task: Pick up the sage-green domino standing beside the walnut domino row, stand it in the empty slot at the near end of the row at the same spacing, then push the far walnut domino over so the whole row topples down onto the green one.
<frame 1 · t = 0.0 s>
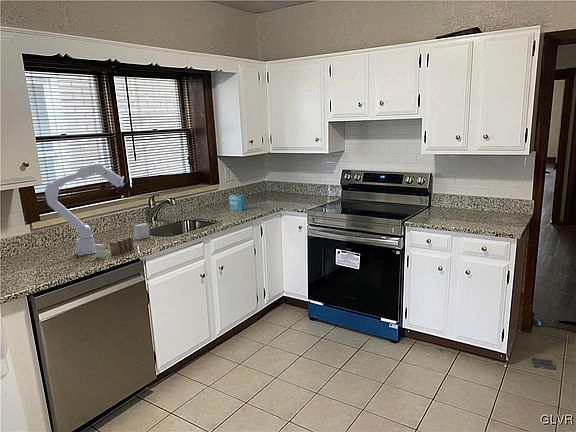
hand: (133, 191, 252), 32 cm above the worktop, tool tilted 50°, fingers open, 7 cm apart
head tile: (129, 248, 251), on the worktop
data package: (237, 209, 353), on the worktop
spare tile: (100, 257, 237), on the worktop
tile 3: (120, 252, 245), on the worktop
tile 4: (115, 254, 241), on the worktop
medicine box: (142, 238, 274), on the worktop
tile 2: (125, 250, 248), on the worktop
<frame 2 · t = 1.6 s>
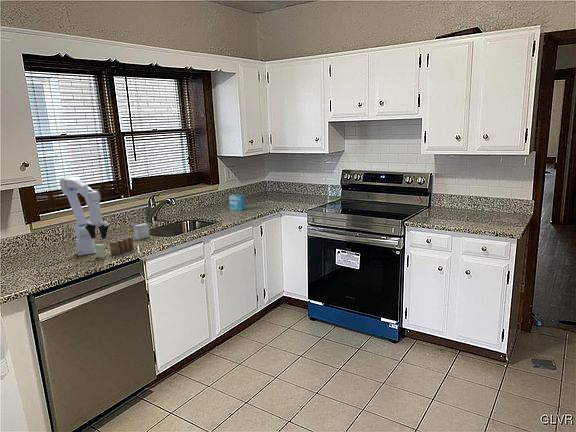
hand: (98, 238, 234), 10 cm above the worktop, tool pointing down, fingers open, 7 cm apart
nothing on the worktop moved.
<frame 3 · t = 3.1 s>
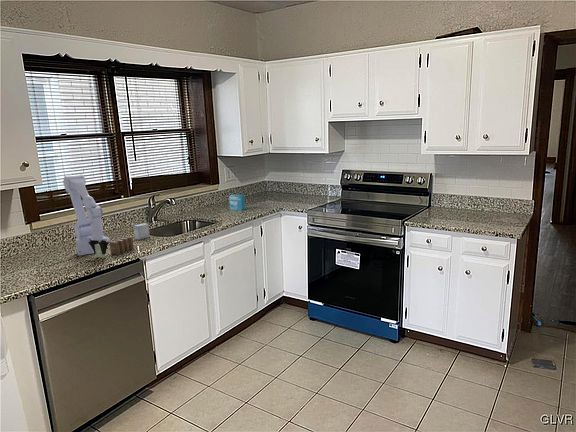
hand: (100, 253, 236), 2 cm above the worktop, tool pointing down, fingers closed on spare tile, 5 cm apart
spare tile: (100, 256, 237), on the worktop, touching gripper
everything else where it was.
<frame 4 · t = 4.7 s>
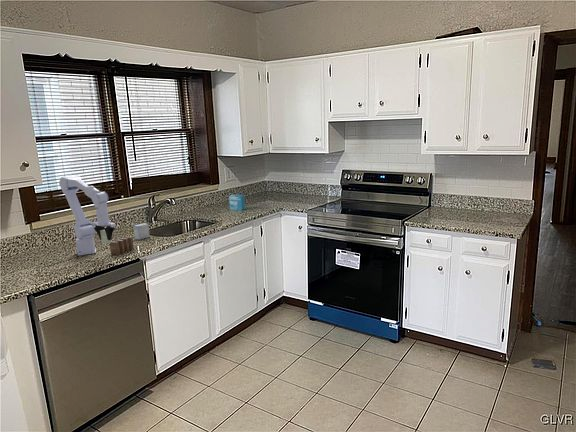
hand: (105, 239, 236), 9 cm above the worktop, tool pointing down, fingers closed on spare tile, 5 cm apart
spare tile: (106, 242, 236), point 8 cm above the worktop, touching gripper
everything else where it was.
when the fingers open (3 cm above the worktop, at t = 6.6 s): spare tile stays where it is, on the worktop.
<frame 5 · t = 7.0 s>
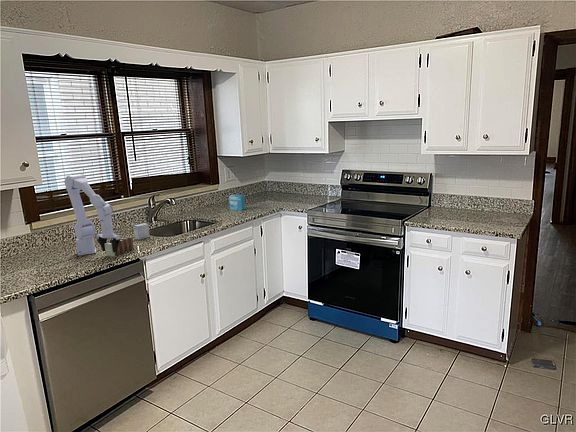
hand: (110, 251, 238), 3 cm above the worktop, tool pointing down, fingers open, 7 cm apart
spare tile: (110, 255, 238), on the worktop
everything else where it was.
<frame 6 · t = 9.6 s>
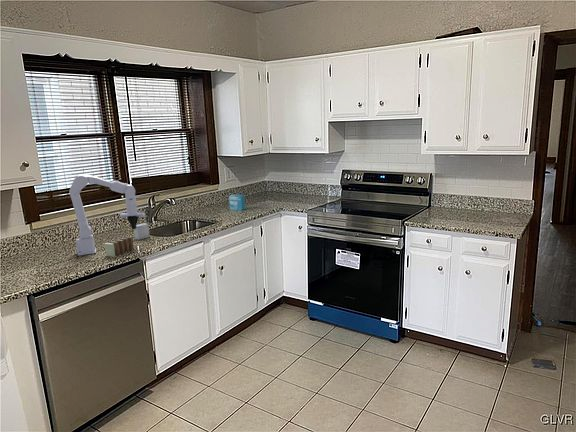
hand: (134, 228, 254), 10 cm above the worktop, tool pointing down, fingers closed
nothing on the worktop moved.
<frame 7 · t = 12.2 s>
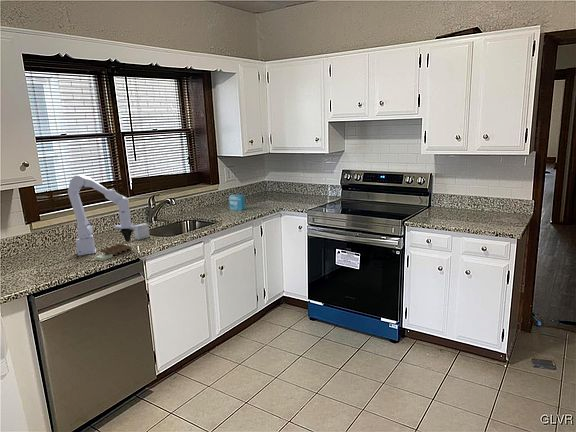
hand: (128, 241, 250), 4 cm above the worktop, tool pointing down, fingers closed
head tile: (128, 248, 250), point 1 cm above the worktop, tilted 63°, touching tile 2
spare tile: (109, 255, 237), point 1 cm above the worktop, tilted 89°, touching tile 4
tile 3: (118, 251, 243), point 1 cm above the worktop, tilted 63°, touching tile 2, tile 4
tile 4: (113, 253, 240), point 1 cm above the worktop, tilted 63°, touching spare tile, tile 3
tile 2: (123, 249, 247), point 1 cm above the worktop, tilted 63°, touching head tile, tile 3
everything else where it was.
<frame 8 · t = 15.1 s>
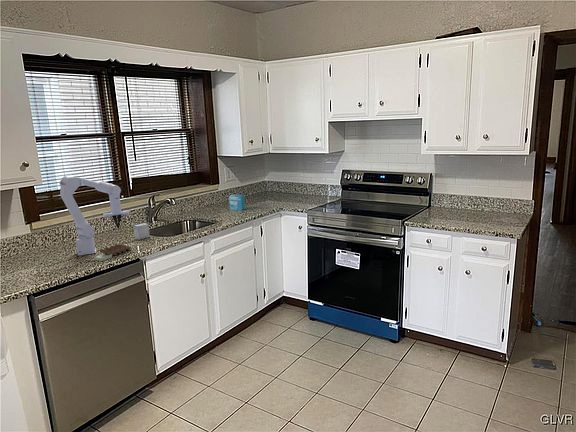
hand: (118, 227, 259), 10 cm above the worktop, tool pointing down, fingers closed
at the end: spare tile tilted 89°; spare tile inside the target area (1.0 cm from its centre), point 0.7 cm above the worktop; head tile tilted 63° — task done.
